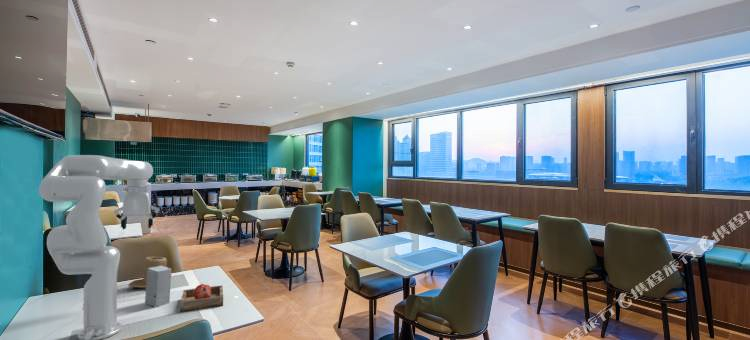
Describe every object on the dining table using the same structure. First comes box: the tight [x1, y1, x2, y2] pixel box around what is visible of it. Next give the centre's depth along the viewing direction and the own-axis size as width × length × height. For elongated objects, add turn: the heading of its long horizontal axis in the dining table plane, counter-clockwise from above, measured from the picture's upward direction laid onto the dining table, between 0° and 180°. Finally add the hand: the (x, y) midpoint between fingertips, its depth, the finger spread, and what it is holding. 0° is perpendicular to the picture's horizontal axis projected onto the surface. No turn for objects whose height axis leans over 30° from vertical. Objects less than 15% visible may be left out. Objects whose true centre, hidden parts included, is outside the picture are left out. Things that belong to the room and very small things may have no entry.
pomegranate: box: [193, 283, 212, 300], centre depth 154 cm, size 7×7×10 cm
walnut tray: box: [179, 285, 224, 313], centre depth 155 cm, size 16×16×4 cm
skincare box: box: [144, 266, 172, 308], centre depth 153 cm, size 8×7×16 cm
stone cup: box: [128, 256, 168, 289], centre depth 176 cm, size 15×12×15 cm
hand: (137, 228), depth 155 cm, fingers open, 9 cm apart
